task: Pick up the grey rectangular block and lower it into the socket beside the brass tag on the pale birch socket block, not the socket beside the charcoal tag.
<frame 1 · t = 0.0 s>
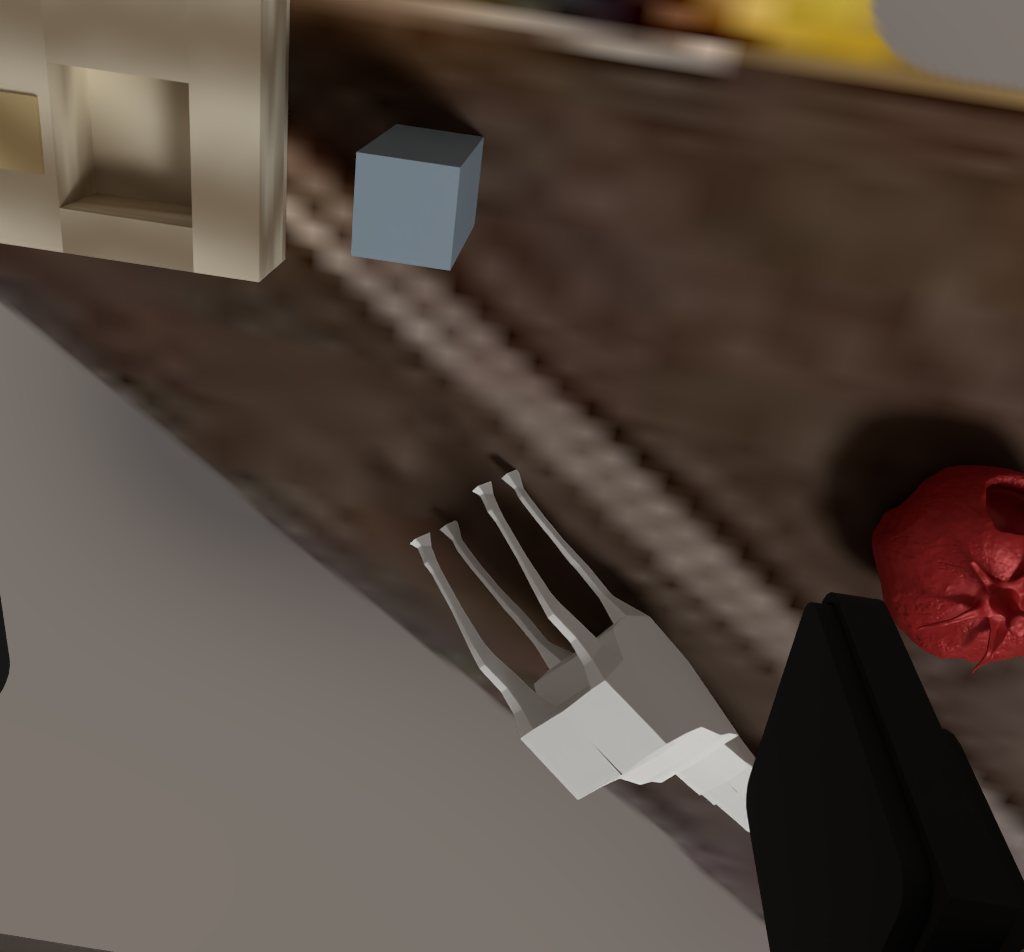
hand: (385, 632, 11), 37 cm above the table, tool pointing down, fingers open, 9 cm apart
grey rectangular block: (436, 175, 45), on the table
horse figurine: (641, 642, 56), on the table
pomegranate: (956, 527, 51), on the table
socket block: (155, 16, 42), on the table
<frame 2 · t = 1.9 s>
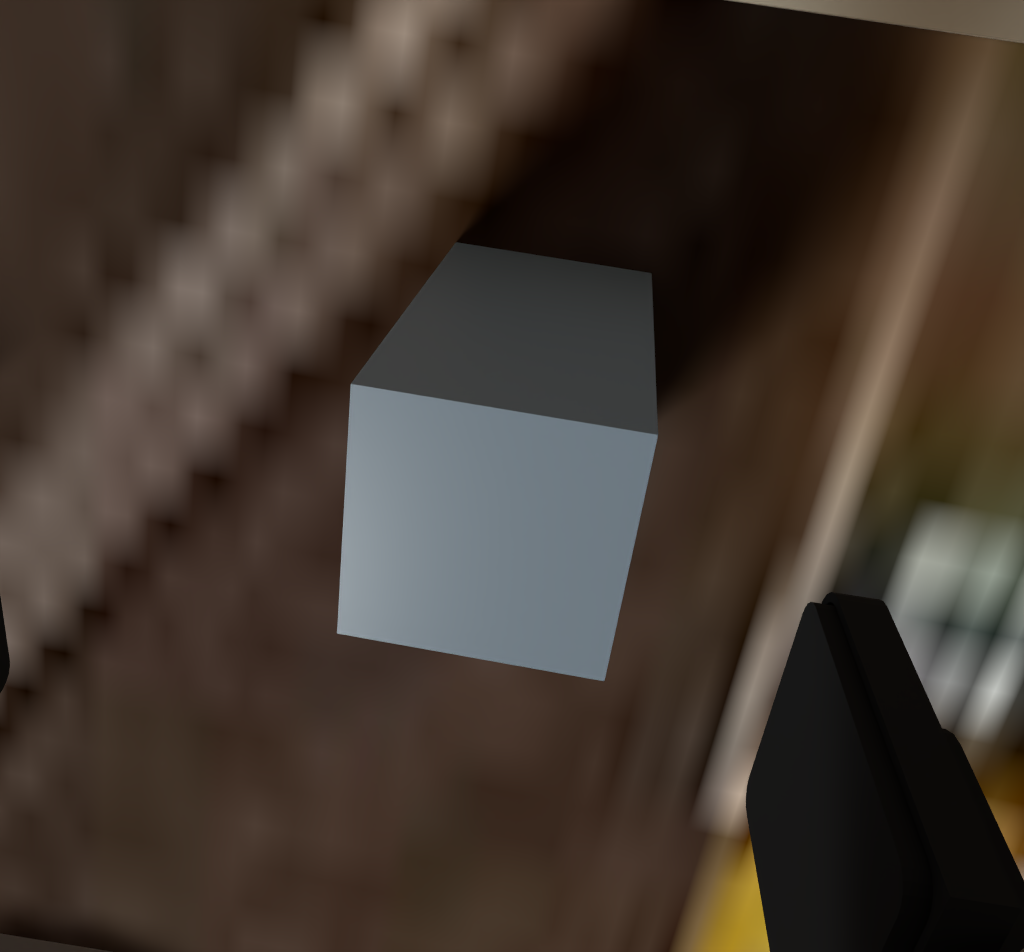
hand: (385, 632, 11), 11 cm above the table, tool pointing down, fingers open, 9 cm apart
grey rectangular block: (539, 350, 20), on the table
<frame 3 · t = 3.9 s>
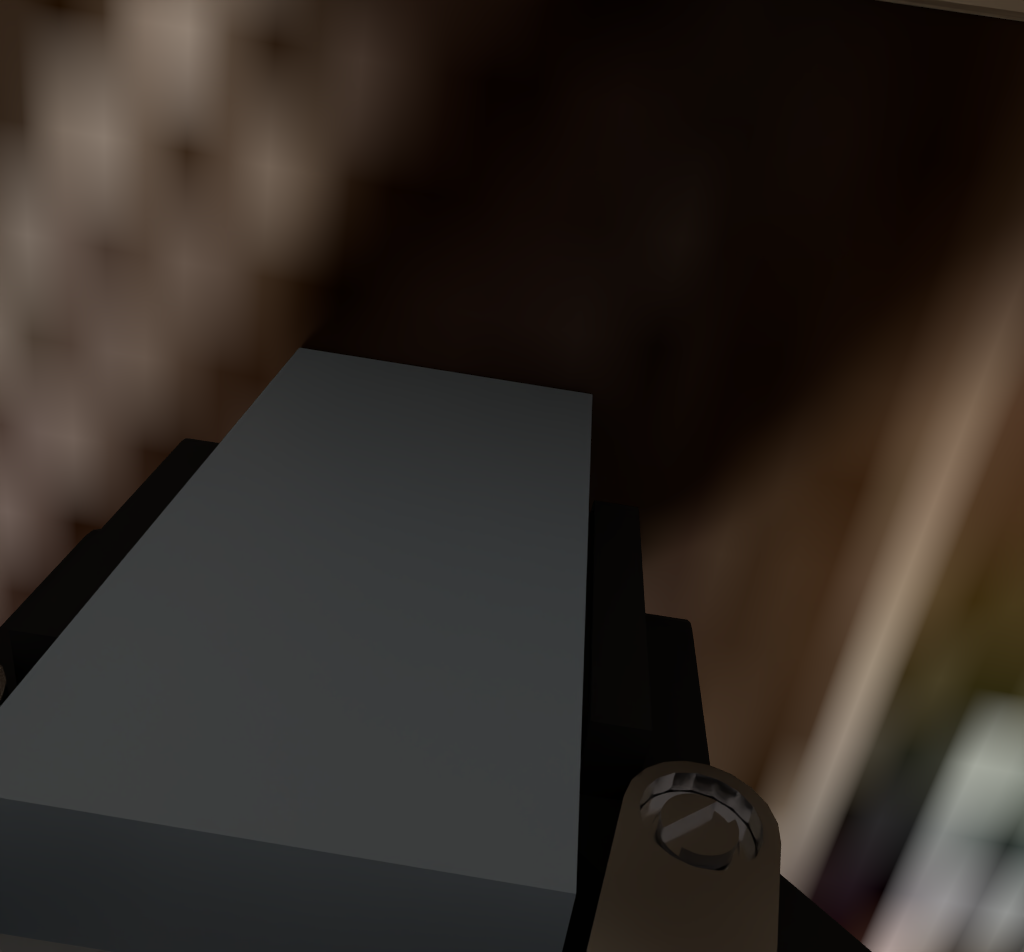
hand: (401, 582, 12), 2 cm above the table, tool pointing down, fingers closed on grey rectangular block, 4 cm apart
grey rectangular block: (431, 499, 14), on the table, touching gripper
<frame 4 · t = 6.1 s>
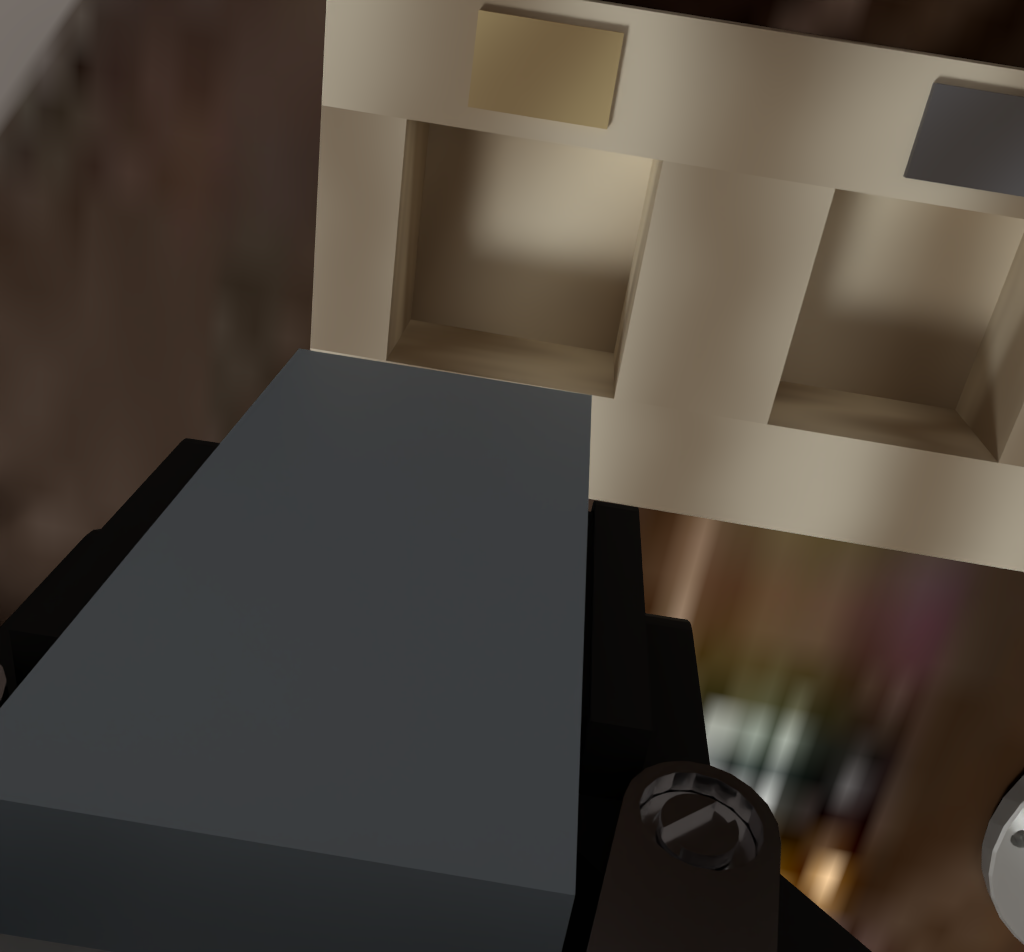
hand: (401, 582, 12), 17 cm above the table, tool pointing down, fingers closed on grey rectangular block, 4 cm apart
grey rectangular block: (431, 500, 14), point 15 cm above the table, touching gripper
socket block: (704, 258, 27), on the table
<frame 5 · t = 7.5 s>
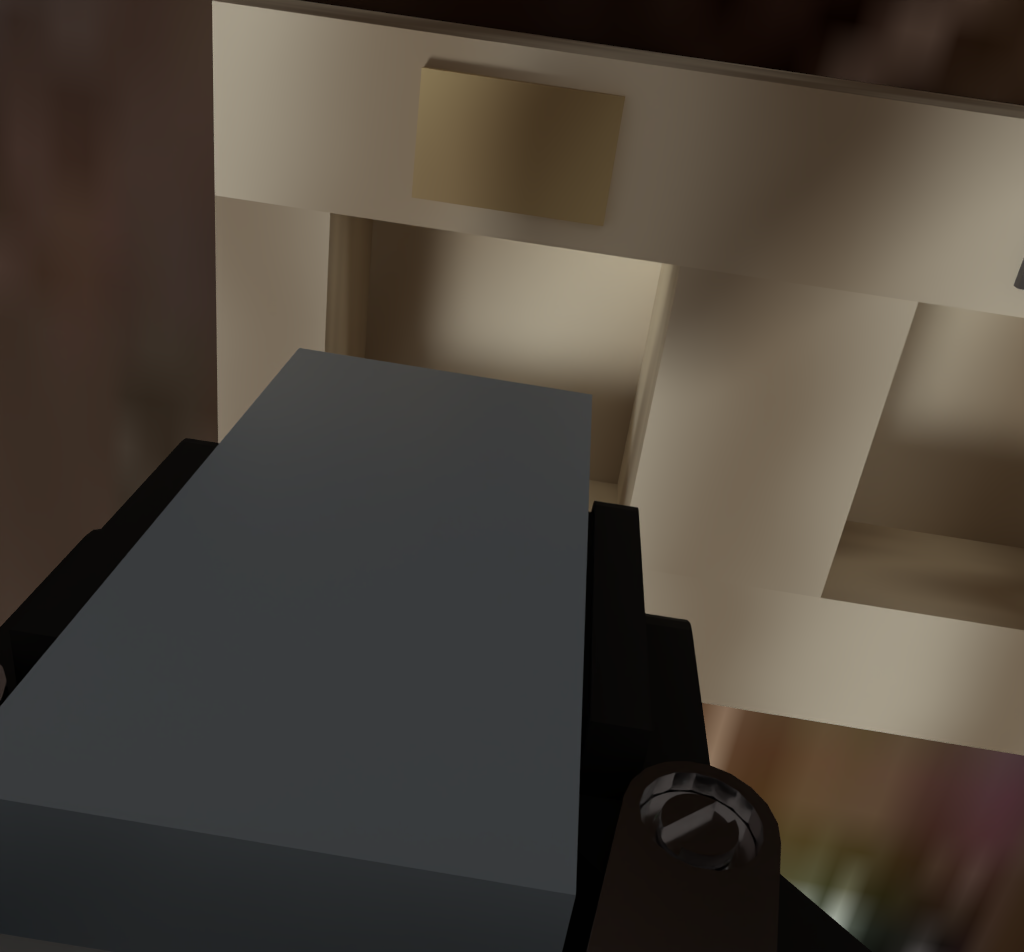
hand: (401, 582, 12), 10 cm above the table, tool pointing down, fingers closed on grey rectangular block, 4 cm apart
grey rectangular block: (431, 499, 14), point 8 cm above the table, touching gripper
socket block: (732, 367, 21), on the table
when the fingers open (5 cm above the table, at t = 8.8 s): grey rectangular block drops 2 cm, resting on socket block.
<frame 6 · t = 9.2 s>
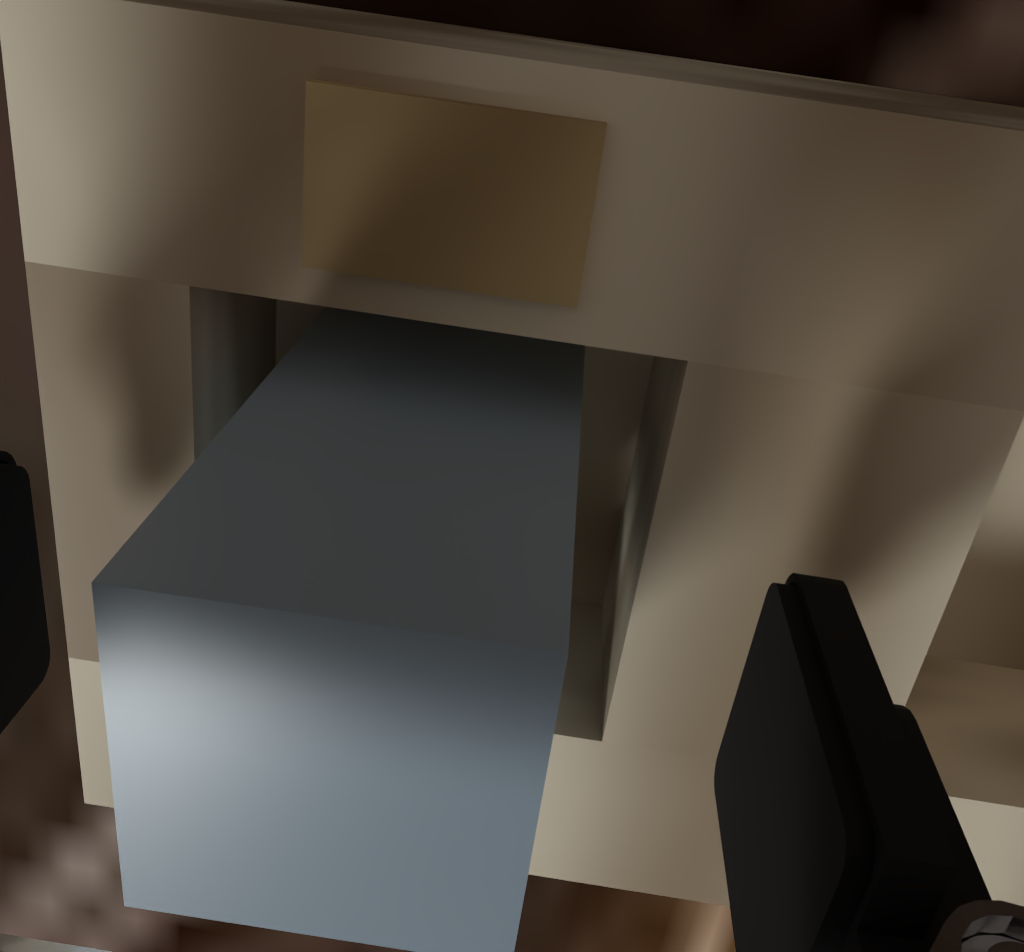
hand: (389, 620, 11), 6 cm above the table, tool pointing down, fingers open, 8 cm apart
grey rectangular block: (447, 432, 16), resting on socket block
socket block: (750, 461, 16), on the table
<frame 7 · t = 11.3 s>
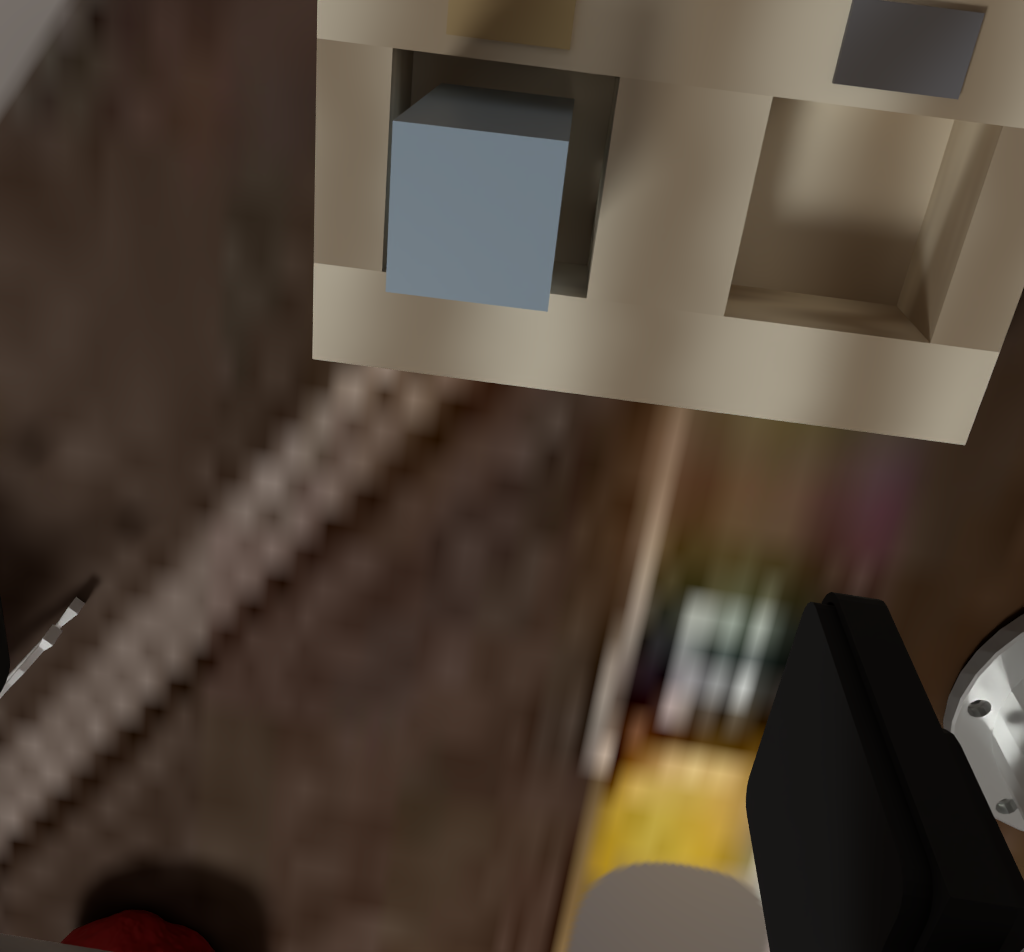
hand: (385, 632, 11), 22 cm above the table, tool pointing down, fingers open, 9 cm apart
grey rectangular block: (501, 159, 30), resting on socket block
pomegranate: (153, 950, 50), on the table
socket block: (665, 175, 30), on the table
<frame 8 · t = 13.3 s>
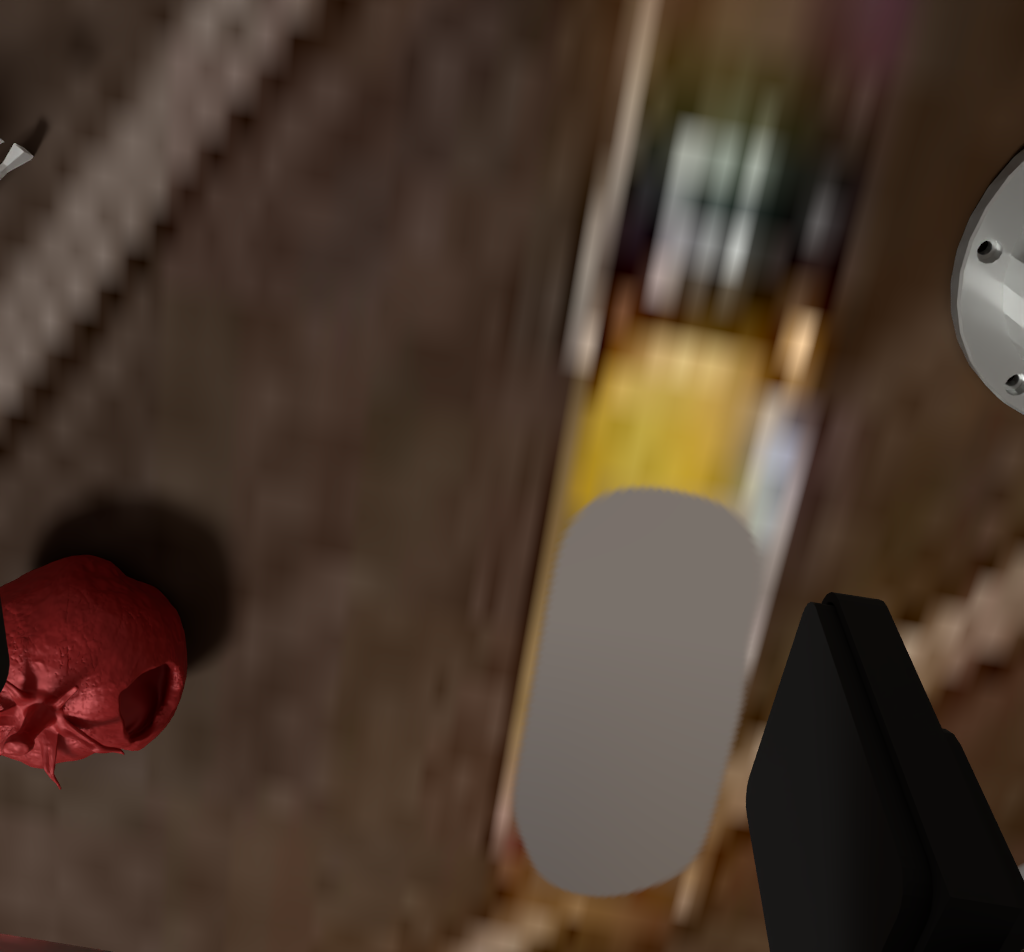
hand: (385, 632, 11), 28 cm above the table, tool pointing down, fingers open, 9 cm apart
pomegranate: (111, 619, 48), on the table
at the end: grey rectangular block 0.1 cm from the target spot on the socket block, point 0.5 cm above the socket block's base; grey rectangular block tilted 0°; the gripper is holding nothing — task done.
